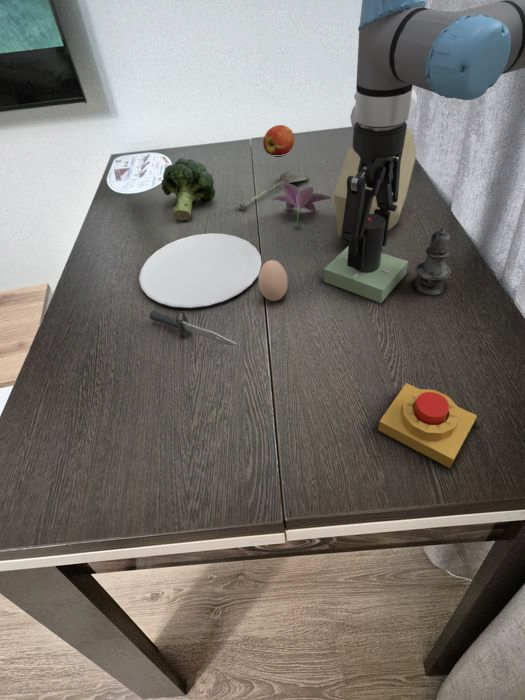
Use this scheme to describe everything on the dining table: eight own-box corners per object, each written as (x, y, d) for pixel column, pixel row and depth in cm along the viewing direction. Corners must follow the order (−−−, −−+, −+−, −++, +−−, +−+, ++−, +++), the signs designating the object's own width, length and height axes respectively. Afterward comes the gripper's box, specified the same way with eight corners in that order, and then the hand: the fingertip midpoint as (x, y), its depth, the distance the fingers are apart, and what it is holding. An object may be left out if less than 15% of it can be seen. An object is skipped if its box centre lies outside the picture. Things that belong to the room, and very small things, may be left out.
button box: (473, 424, 59) (481, 407, 56) (449, 468, 55) (457, 452, 52) (403, 392, 64) (408, 374, 61) (377, 430, 60) (380, 413, 57)
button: (451, 408, 57) (454, 400, 56) (438, 430, 55) (441, 422, 54) (421, 395, 59) (424, 387, 58) (408, 415, 57) (410, 407, 56)
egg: (254, 300, 81) (249, 263, 76) (273, 286, 84) (269, 249, 78) (276, 311, 79) (272, 274, 73) (294, 296, 81) (292, 259, 75)
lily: (337, 225, 99) (336, 180, 96) (305, 228, 91) (304, 178, 88) (295, 227, 107) (293, 185, 104) (262, 230, 98) (260, 184, 96)
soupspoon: (313, 182, 113) (294, 177, 117) (312, 169, 111) (294, 164, 115) (250, 214, 103) (232, 207, 107) (248, 200, 101) (230, 193, 105)
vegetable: (146, 214, 104) (160, 161, 108) (192, 237, 111) (203, 188, 115) (170, 193, 94) (184, 137, 98) (218, 221, 102) (230, 167, 106)
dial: (384, 262, 81) (390, 216, 74) (371, 276, 79) (376, 230, 72) (360, 254, 83) (364, 209, 77) (347, 267, 81) (350, 222, 74)
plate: (285, 254, 91) (285, 249, 90) (211, 328, 77) (210, 322, 76) (193, 227, 102) (192, 222, 101) (114, 287, 88) (112, 282, 87)
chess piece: (450, 294, 78) (467, 235, 69) (417, 297, 78) (429, 238, 70) (441, 274, 82) (455, 216, 73) (409, 277, 82) (420, 219, 74)
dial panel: (406, 274, 83) (408, 260, 81) (381, 303, 78) (382, 289, 76) (350, 255, 89) (351, 242, 86) (323, 281, 84) (323, 268, 81)
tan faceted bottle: (424, 214, 97) (453, 69, 77) (362, 266, 86) (376, 112, 66) (377, 199, 103) (392, 61, 83) (313, 246, 92) (313, 100, 72)
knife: (244, 350, 72) (239, 327, 68) (236, 359, 70) (230, 337, 67) (160, 320, 81) (152, 298, 77) (151, 327, 79) (142, 306, 76)
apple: (260, 157, 125) (257, 128, 119) (278, 147, 129) (276, 118, 124) (282, 163, 121) (280, 133, 116) (300, 152, 125) (299, 122, 120)
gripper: (389, 95, 70) (375, 223, 87) (318, 143, 60) (318, 278, 76) (435, 101, 67) (411, 233, 83) (368, 153, 56) (356, 292, 72)
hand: (367, 254), depth 79 cm, fingers open, 8 cm apart
